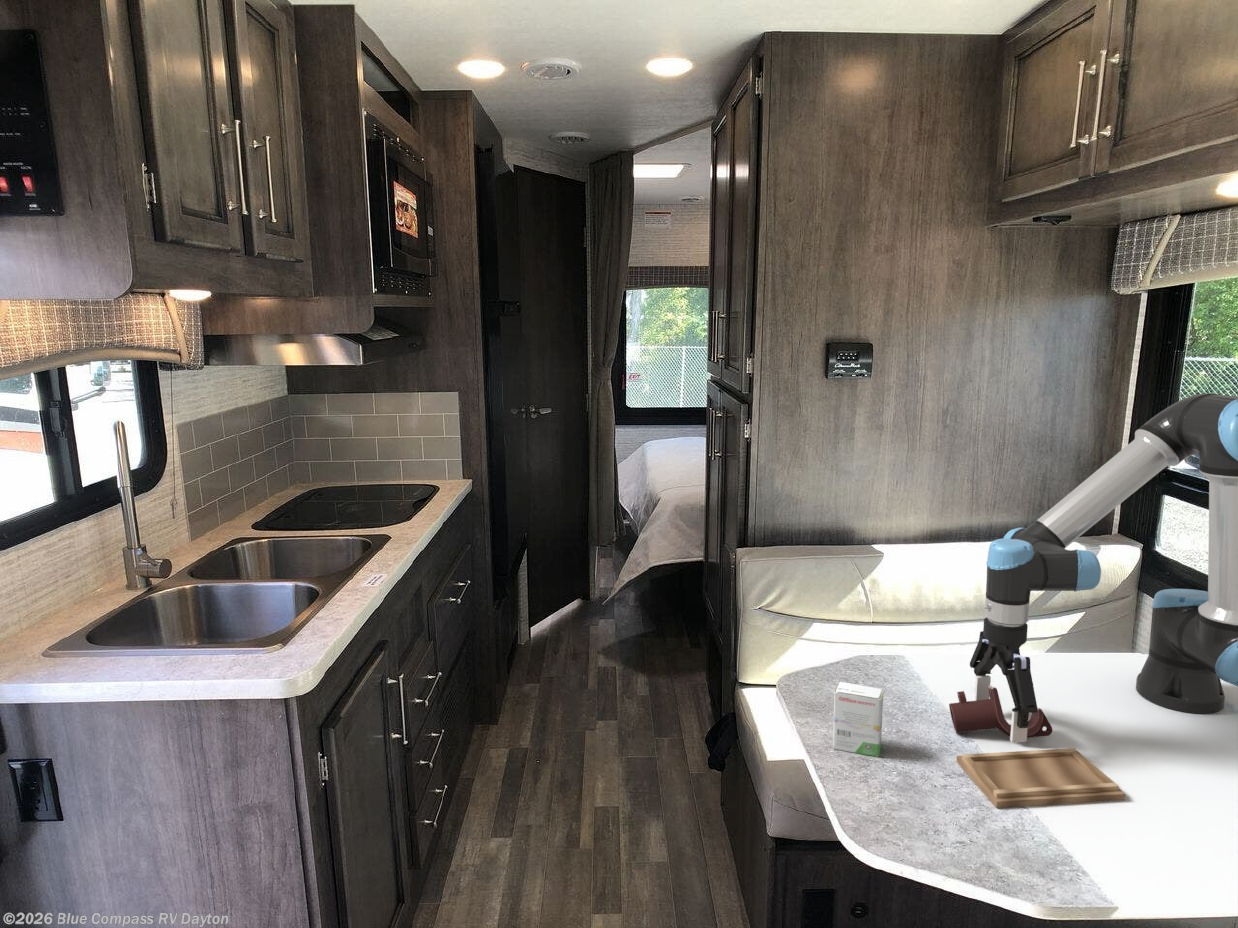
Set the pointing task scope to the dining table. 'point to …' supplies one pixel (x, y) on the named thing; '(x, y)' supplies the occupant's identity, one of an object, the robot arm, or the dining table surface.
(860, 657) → the dining table surface
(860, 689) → the ink box
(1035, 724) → the bracket
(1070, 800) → the side panel
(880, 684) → the dining table surface
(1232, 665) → the robot arm
